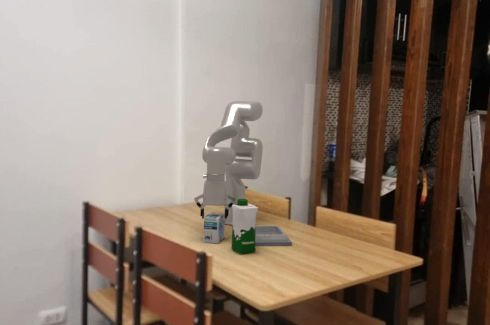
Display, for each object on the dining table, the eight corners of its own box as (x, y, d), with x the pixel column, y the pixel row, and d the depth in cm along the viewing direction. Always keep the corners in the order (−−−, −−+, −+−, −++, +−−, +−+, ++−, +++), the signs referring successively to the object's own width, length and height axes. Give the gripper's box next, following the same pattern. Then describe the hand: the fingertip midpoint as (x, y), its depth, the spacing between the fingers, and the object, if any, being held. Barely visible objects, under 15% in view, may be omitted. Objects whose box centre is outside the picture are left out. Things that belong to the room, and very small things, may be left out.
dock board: (240, 233, 195) (240, 230, 195) (281, 233, 198) (281, 229, 198) (246, 246, 176) (246, 242, 176) (291, 245, 179) (292, 242, 179)
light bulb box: (218, 244, 178) (219, 218, 177) (202, 242, 180) (203, 217, 178) (224, 237, 189) (225, 212, 187) (209, 235, 190) (210, 211, 189)
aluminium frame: (245, 231, 193) (245, 225, 193) (278, 231, 196) (279, 225, 195) (250, 241, 178) (250, 235, 178) (286, 241, 180) (287, 235, 180)
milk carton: (247, 246, 177) (249, 197, 174) (258, 252, 169) (260, 202, 166) (228, 248, 173) (230, 199, 170) (238, 255, 165) (240, 203, 162)
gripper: (195, 178, 176) (193, 219, 178) (237, 179, 178) (235, 220, 180) (194, 176, 183) (193, 216, 185) (235, 177, 186) (233, 216, 187)
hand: (214, 218), depth 182 cm, fingers open, 9 cm apart
